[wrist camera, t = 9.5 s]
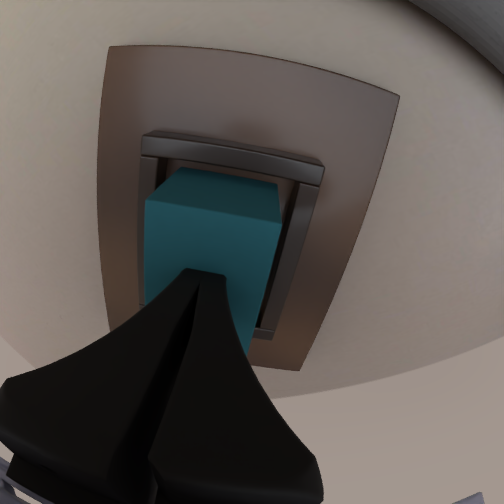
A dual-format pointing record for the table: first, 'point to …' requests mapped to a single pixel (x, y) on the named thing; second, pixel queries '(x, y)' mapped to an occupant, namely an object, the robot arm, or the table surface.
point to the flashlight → (473, 24)
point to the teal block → (214, 237)
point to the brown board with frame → (241, 170)
